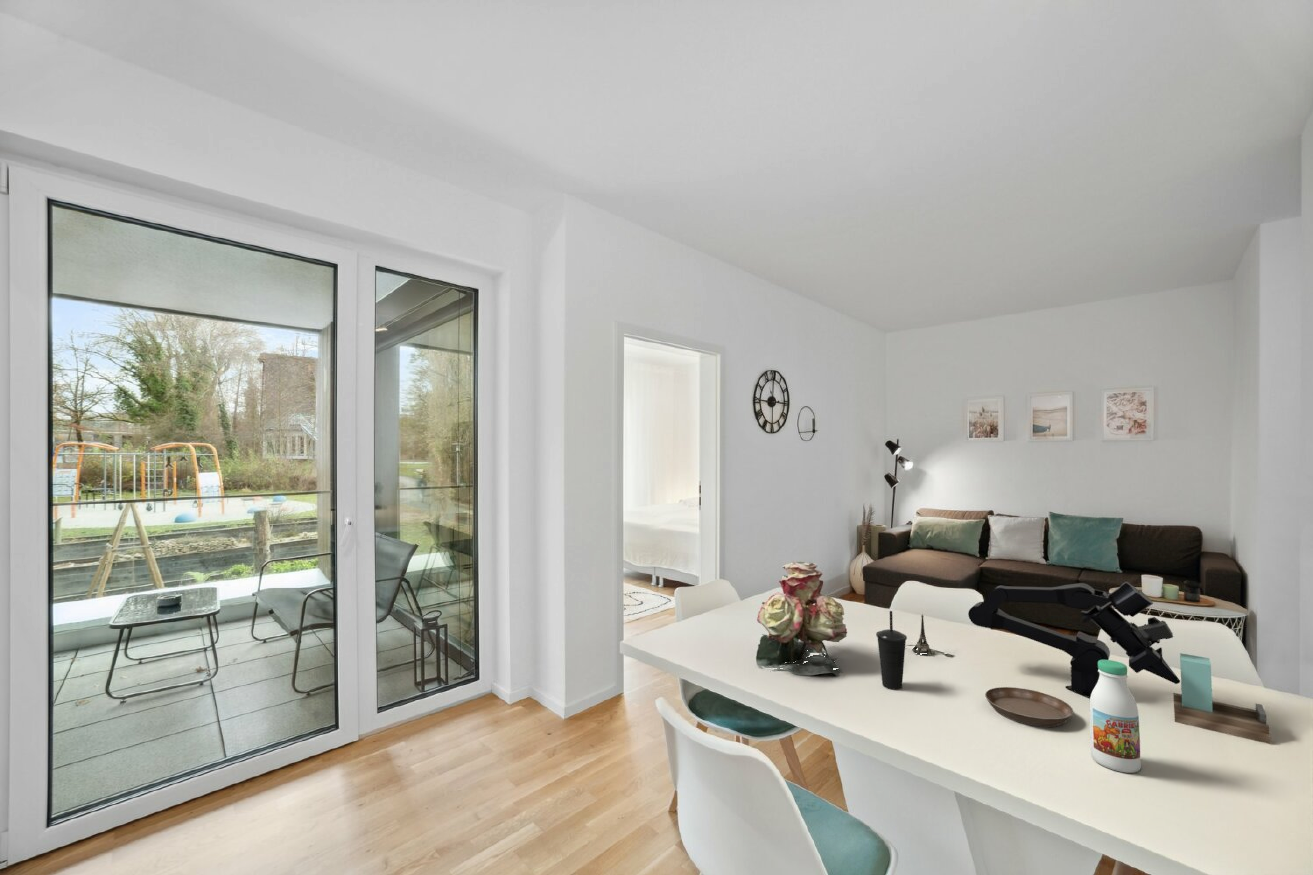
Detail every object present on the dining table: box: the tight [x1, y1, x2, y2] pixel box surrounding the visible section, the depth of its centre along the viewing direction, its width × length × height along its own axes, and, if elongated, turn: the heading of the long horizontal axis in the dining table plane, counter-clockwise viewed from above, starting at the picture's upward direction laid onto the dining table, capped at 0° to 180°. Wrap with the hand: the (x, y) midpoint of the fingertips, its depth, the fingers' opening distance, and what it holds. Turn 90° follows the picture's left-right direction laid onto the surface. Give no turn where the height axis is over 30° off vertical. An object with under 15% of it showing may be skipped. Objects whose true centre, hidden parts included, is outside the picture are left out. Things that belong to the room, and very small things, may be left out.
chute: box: [1172, 692, 1272, 745], centre depth 128 cm, size 15×13×5 cm
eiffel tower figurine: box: [907, 614, 955, 659], centre depth 174 cm, size 15×10×13 cm
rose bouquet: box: [755, 561, 848, 677], centre depth 167 cm, size 26×29×30 cm
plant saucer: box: [984, 686, 1074, 728], centre depth 133 cm, size 18×18×3 cm
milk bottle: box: [1089, 659, 1141, 774], centre depth 111 cm, size 8×8×20 cm
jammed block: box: [1179, 653, 1213, 713], centre depth 131 cm, size 5×6×12 cm
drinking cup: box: [875, 610, 908, 691], centre depth 149 cm, size 8×8×20 cm
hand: (1178, 682), depth 133 cm, fingers closed
